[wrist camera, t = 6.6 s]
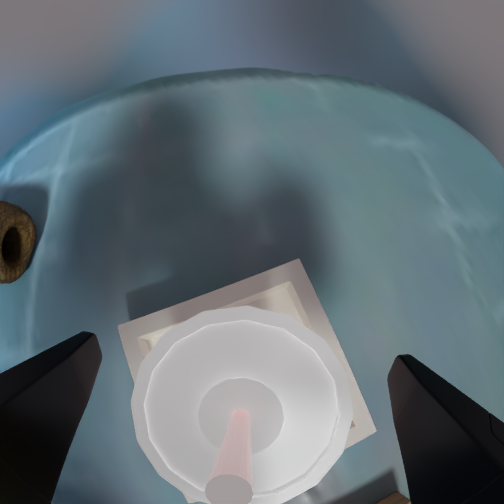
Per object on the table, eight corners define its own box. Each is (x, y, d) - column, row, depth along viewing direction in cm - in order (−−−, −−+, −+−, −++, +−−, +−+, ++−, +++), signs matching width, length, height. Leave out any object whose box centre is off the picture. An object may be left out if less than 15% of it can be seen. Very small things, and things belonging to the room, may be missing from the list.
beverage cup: (271, 455, 13) (331, 642, 1) (173, 411, 14) (-22, 486, 1) (316, 363, 16) (519, 321, 3) (219, 320, 17) (130, 148, 4)
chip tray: (195, 489, 13) (188, 503, 11) (131, 331, 17) (117, 325, 15) (362, 425, 15) (376, 431, 12) (293, 270, 18) (299, 258, 16)
